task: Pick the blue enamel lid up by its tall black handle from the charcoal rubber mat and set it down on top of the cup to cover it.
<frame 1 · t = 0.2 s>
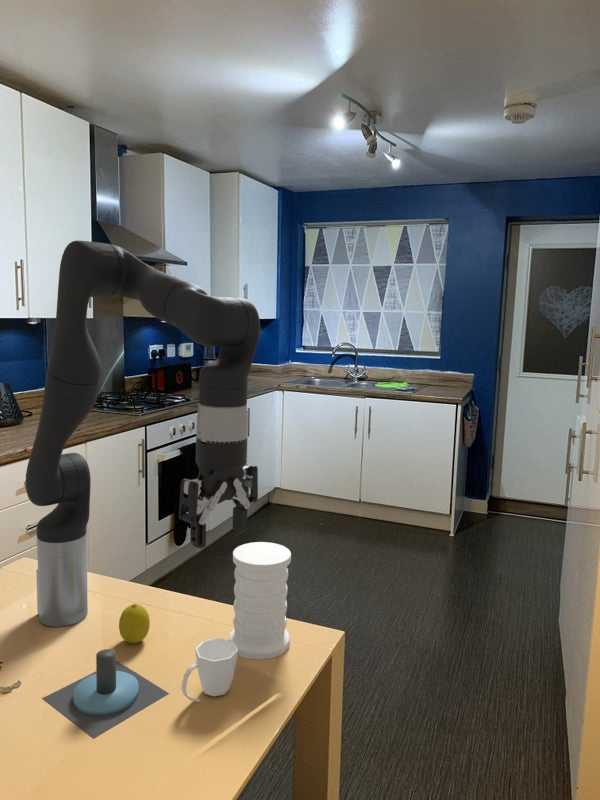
hand: (219, 538, 93), 28 cm above the table, fingers open, 8 cm apart
mat: (106, 699, 99), on the table
cup: (208, 699, 101), on the table
lemon: (134, 645, 115), on the table
decorative container: (259, 643, 118), on the table
lid: (106, 695, 99), point 1 cm above the table, touching mat
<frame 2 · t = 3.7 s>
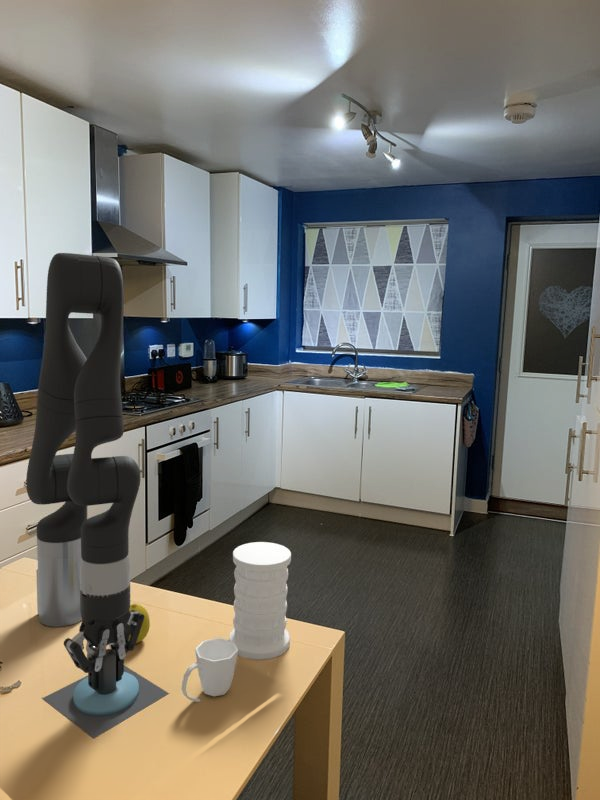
hand: (106, 683, 99), 3 cm above the table, fingers closed on lid, 3 cm apart
lid: (106, 695, 99), point 1 cm above the table, touching gripper, mat
everything else where it was.
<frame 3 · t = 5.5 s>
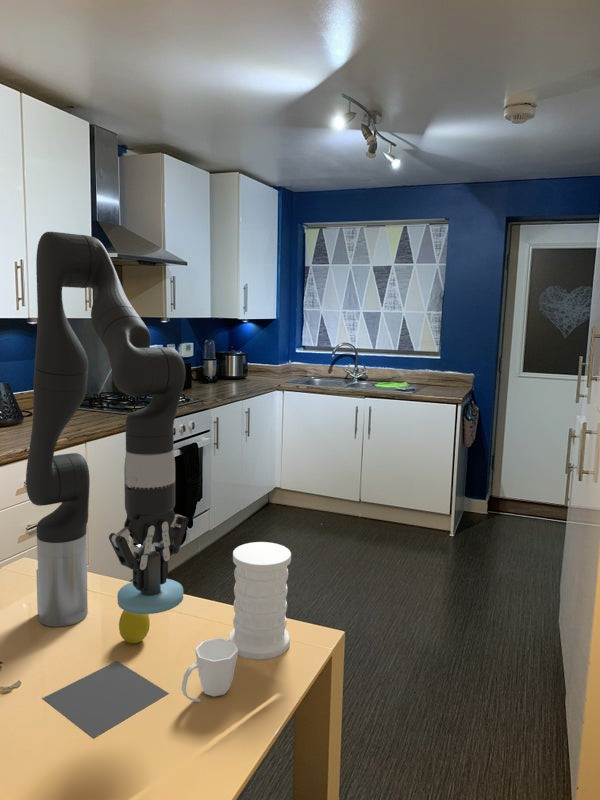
hand: (150, 585, 96), 20 cm above the table, fingers closed on lid, 3 cm apart
lid: (150, 598, 97), point 18 cm above the table, touching gripper
everything else where it was.
when the fingers open (12 cm above the table, at t = 7.5 s): lid drops 1 cm, resting on cup.
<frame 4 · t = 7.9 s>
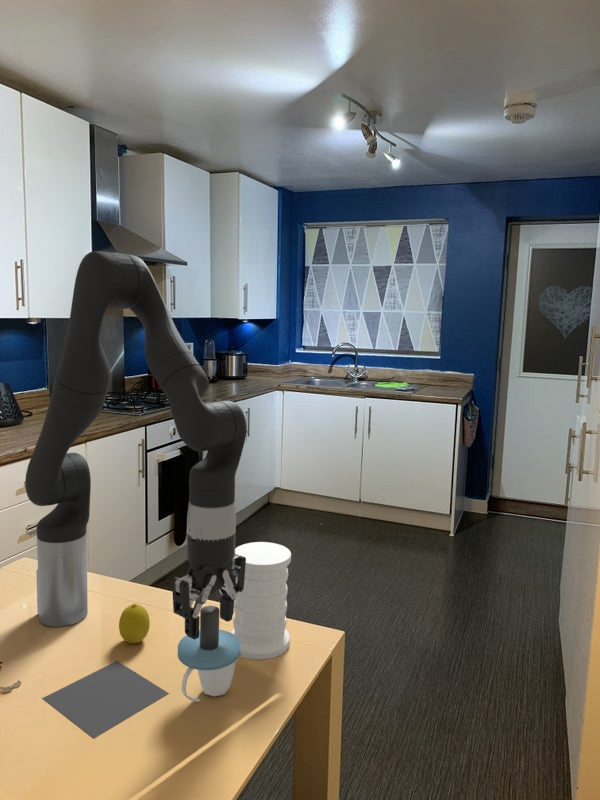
hand: (209, 627, 99), 12 cm above the table, fingers open, 6 cm apart
cup: (208, 699, 101), on the table, touching lid
lid: (209, 652, 99), point 8 cm above the table, touching cup
everything else where it was.
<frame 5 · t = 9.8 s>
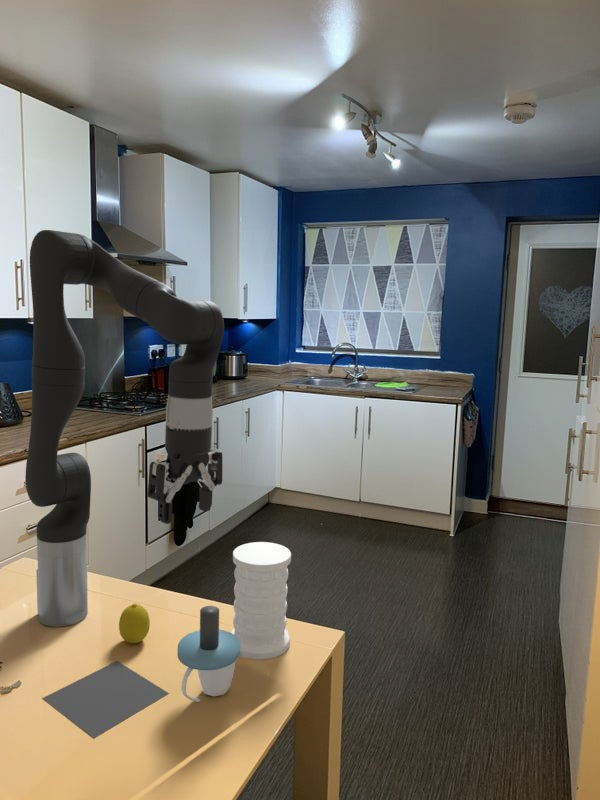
hand: (185, 516, 104), 28 cm above the table, fingers open, 8 cm apart
nothing on the table moved.
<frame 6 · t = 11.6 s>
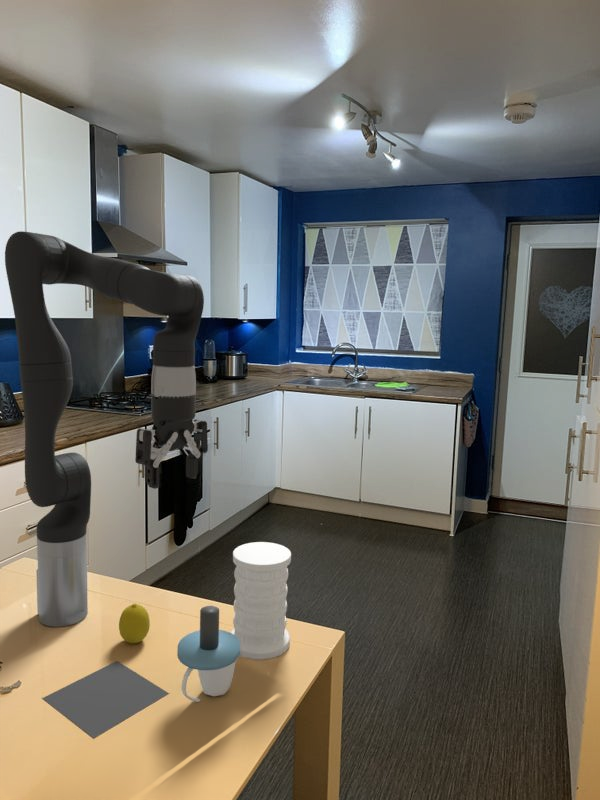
hand: (173, 482, 109), 32 cm above the table, fingers open, 8 cm apart
nothing on the table moved.
at the end: lid 0.0 cm from the cup (horizontally); lid point 8.0 cm above the table; the gripper is holding nothing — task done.
